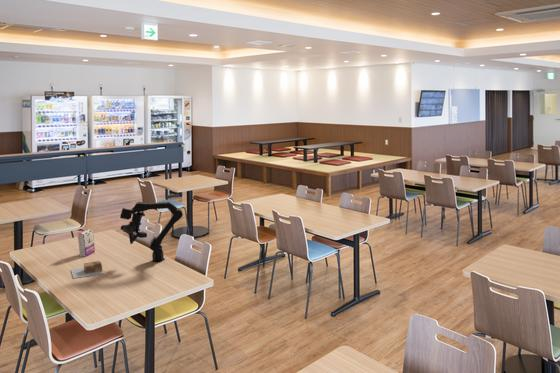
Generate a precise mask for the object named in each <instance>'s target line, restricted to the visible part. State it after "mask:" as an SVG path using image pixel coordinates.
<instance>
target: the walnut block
mask: <svg viewBox="0 0 560 373" xmlns="http://www.w3.org/2000/svg"><path fill="white" fill-rule="evenodd" d="M83 268H84V271H85V274H86V273H92V272H98V271H100V272H103V264H102V261H101V260H96V261H90V262H83Z"/></svg>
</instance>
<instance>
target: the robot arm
mask: <svg viewBox="0 0 560 373" xmlns="http://www.w3.org/2000/svg"><path fill="white" fill-rule="evenodd" d="M163 209H167V210H168V211H169V212H170V213H171V216H170V219H169V220H168V221H167V223H166V224H165V225H164V227H163V229H162V230H161V231H160V232H159V233H158V235H157V236H153V238H152V239H151V240H150V243H149V249H150V251H152V254H151V256H152V260H151V262H155V263H162V261H165V260H166V258H164V257H165V256H164V251H163V246H162V242H163V240H164V238H165V237H166V236H167V235H168V233H170V230H171V229H172V227H174V225H175V224H176V223H177V222H178V221H179V220H181V218H182V217H183V215H184V213H183V210H182V209H181V208H179V207H177V206H176V205H174V204H172V202H171V201H164V202H145V201H137V202H136V203H134V206H133V207H132V208H131V209H130V208H126V207H122V209H121V213H120V216H119V218H120V219H122V220H130V219H131V221H129V223H128V224H122V225H121V226H120V230H122V232H123V233H126V234H127V235H128V238H129V244H130V245H132V244H134V242H135V241H136V240H137V238H140V239H143V238H147V237H148V234H147V232H145V231H143V230H142V231H141V229H140V227H141V225H142V222H141V221H142V218H143V217H145V216H146V214H145V212H146V211H149V210H163ZM142 216H143V217H142Z"/></svg>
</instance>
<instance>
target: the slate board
mask: <svg viewBox="0 0 560 373" xmlns="http://www.w3.org/2000/svg"><path fill="white" fill-rule="evenodd" d="M70 271H71V274H72V278H73V279H79V278H86V277H91V276H98V275H102V271H98V272H92V273H86V274H85V271H84V267H82V268H75V269H70Z"/></svg>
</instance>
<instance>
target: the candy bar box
mask: <svg viewBox="0 0 560 373" xmlns="http://www.w3.org/2000/svg"><path fill="white" fill-rule="evenodd" d="M77 239H78V242H77V243H78V249H79V250H78V251H79V257H82V258H84V257H85V258H86V257H88V256H90V255H92V254H93V253H95V252H96V251H95V250H96V249H95V239H94V231H93V229H85V230H83V231H81V232H79V233H77Z"/></svg>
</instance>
